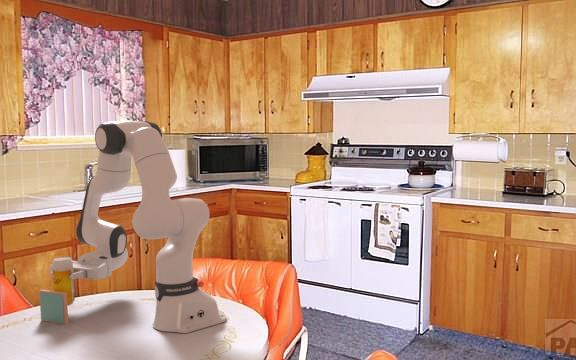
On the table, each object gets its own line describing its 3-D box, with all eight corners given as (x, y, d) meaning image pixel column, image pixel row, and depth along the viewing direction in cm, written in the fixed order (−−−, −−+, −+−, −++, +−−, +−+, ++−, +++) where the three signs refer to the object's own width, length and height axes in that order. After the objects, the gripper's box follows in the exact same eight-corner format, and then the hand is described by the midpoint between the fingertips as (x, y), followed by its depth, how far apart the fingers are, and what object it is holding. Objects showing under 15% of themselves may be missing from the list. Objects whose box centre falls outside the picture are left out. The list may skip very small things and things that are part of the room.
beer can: (55, 302, 179) (53, 257, 177) (75, 300, 181) (72, 255, 179) (53, 307, 173) (51, 261, 172) (74, 305, 175) (71, 260, 174)
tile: (44, 319, 175) (42, 289, 174) (68, 323, 172) (66, 292, 171) (40, 320, 174) (38, 290, 173) (65, 324, 171) (63, 293, 170)
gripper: (66, 254, 191) (35, 264, 179) (114, 258, 184) (85, 269, 171) (68, 271, 192) (37, 282, 179) (115, 276, 185) (86, 288, 172)
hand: (61, 276), depth 175 cm, fingers closed on beer can, 6 cm apart
